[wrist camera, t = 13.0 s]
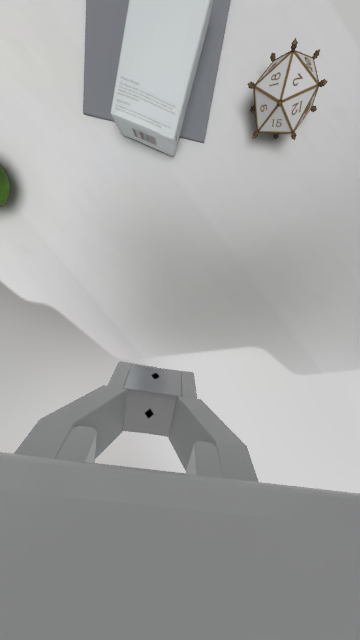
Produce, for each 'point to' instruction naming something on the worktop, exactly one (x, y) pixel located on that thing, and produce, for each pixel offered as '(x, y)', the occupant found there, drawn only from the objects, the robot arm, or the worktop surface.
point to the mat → (104, 53)
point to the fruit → (4, 186)
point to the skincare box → (158, 69)
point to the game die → (285, 93)
